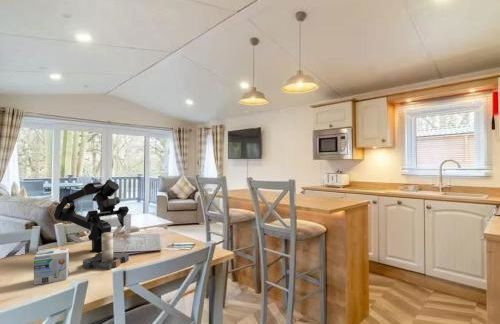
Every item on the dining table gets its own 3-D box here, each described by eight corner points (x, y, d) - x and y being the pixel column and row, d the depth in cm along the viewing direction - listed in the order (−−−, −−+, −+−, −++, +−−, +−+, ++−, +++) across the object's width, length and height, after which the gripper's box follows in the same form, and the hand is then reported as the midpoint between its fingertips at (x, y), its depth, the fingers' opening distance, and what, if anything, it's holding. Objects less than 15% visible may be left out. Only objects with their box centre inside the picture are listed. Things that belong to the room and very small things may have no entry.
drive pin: (99, 267, 122) (99, 234, 122) (105, 263, 126) (105, 232, 126) (109, 267, 121) (109, 234, 121) (115, 263, 126) (114, 232, 126)
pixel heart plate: (78, 268, 121) (78, 262, 121) (103, 256, 136) (103, 250, 136) (110, 271, 118) (110, 265, 118) (132, 258, 133) (132, 252, 133)
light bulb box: (33, 285, 104) (32, 256, 104) (36, 278, 110) (36, 251, 110) (67, 279, 109) (67, 252, 109) (69, 273, 115) (69, 247, 115)
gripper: (87, 194, 132) (97, 221, 124) (127, 190, 146) (137, 214, 138) (81, 209, 137) (90, 235, 130) (120, 204, 151) (130, 228, 144)
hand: (113, 228), depth 135 cm, fingers open, 9 cm apart
